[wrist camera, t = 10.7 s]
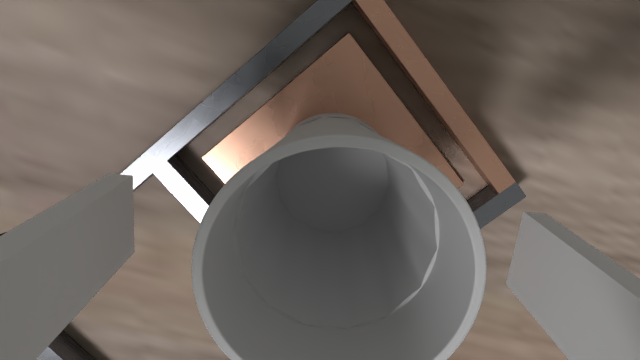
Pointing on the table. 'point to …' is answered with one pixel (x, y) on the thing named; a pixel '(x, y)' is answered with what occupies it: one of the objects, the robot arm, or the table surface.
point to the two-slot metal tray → (312, 99)
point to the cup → (338, 252)
